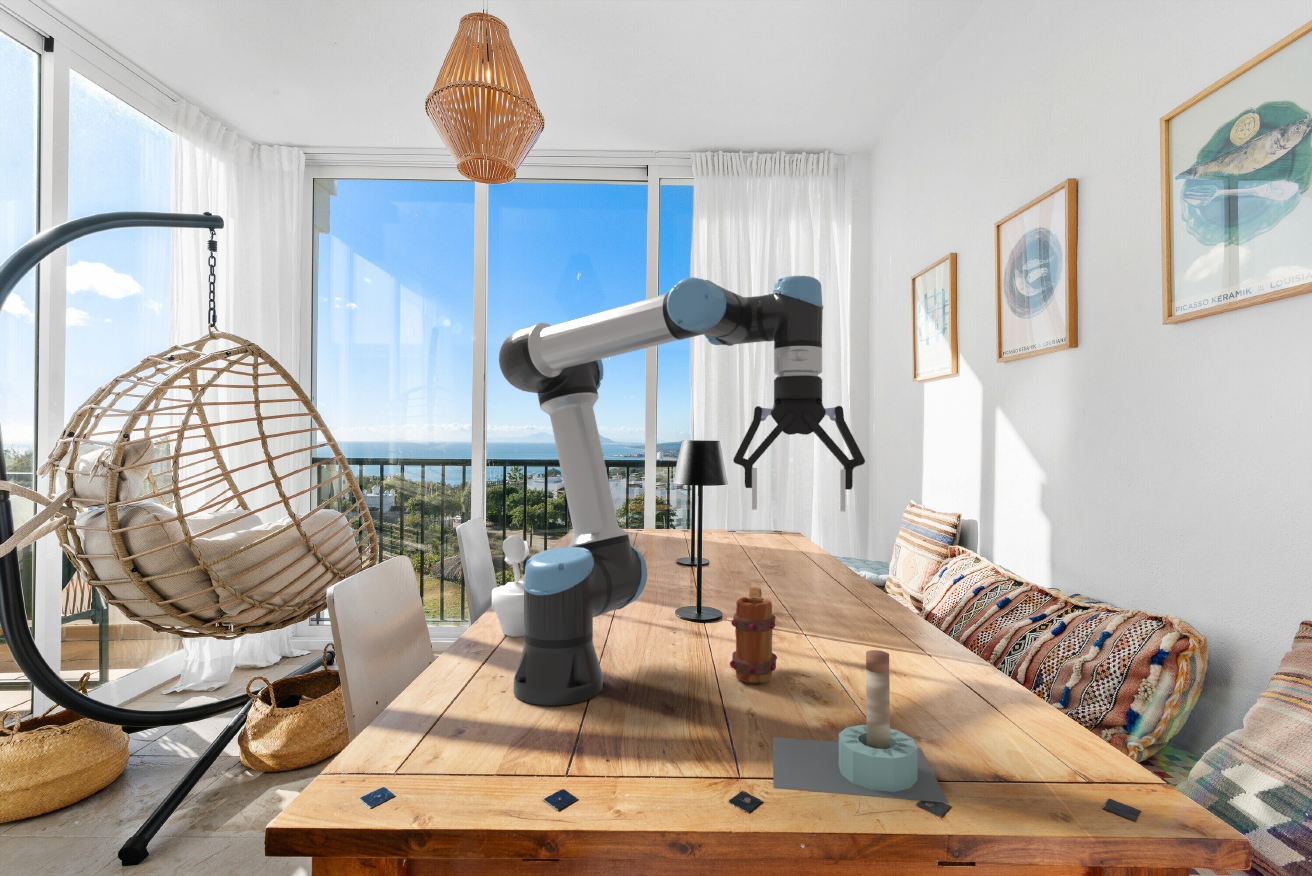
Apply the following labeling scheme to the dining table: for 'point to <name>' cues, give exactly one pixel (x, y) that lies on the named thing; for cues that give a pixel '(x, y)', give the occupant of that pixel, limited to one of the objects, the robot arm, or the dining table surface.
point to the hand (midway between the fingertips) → (797, 510)
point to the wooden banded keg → (753, 638)
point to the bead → (878, 760)
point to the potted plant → (512, 590)
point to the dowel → (877, 699)
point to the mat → (838, 772)
